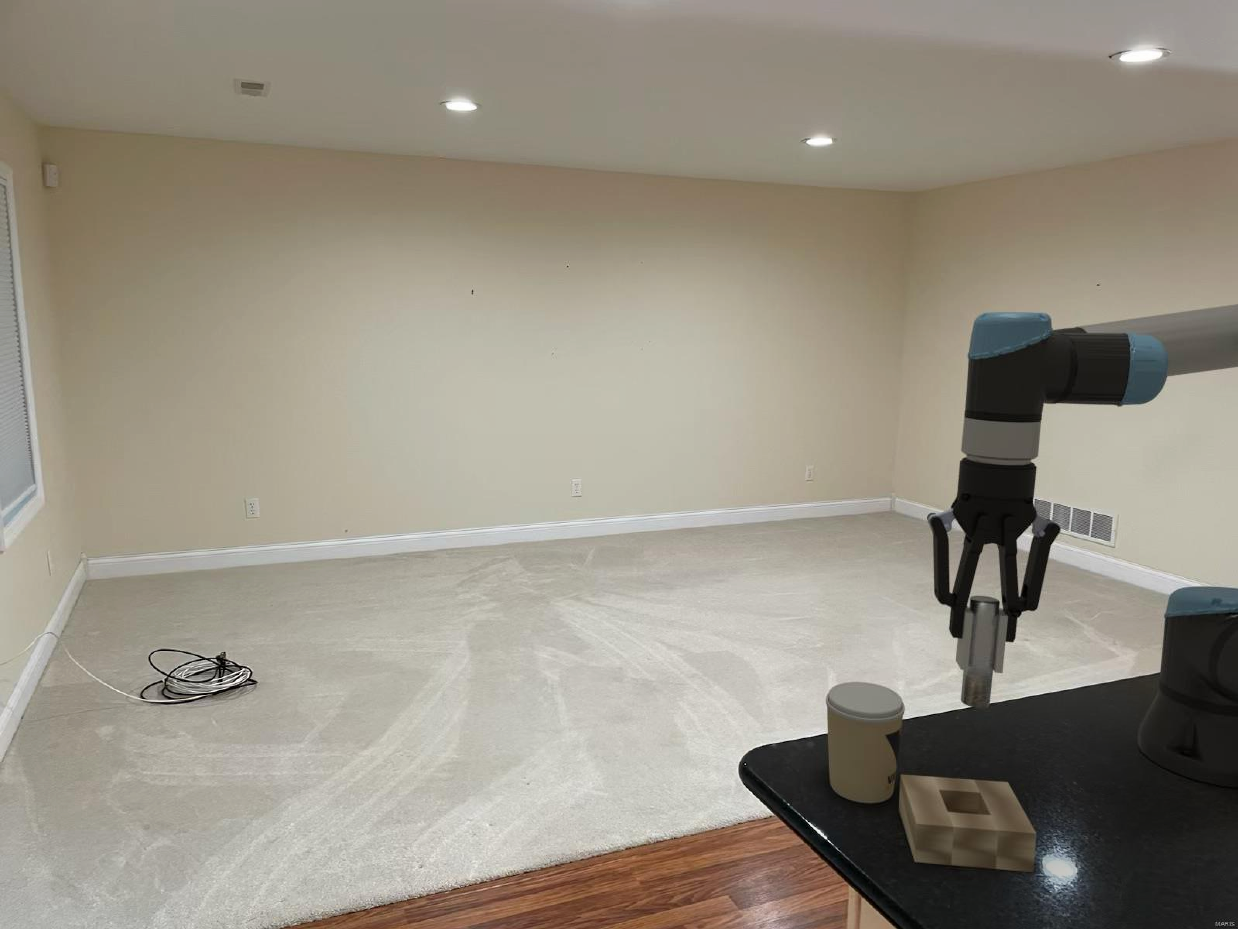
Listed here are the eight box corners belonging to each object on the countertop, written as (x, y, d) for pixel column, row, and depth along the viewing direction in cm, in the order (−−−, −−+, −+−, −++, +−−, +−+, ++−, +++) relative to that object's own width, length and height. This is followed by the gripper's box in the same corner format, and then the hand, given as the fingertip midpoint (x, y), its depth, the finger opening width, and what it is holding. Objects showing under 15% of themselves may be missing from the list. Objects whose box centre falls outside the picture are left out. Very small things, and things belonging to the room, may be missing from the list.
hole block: (1005, 817, 97) (1007, 782, 96) (1033, 872, 87) (1036, 833, 87) (898, 809, 99) (900, 774, 98) (914, 862, 89) (916, 823, 89)
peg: (985, 697, 94) (995, 596, 92) (992, 709, 91) (1003, 605, 90) (958, 695, 95) (967, 594, 93) (964, 706, 92) (973, 603, 90)
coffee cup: (905, 811, 99) (910, 717, 97) (824, 803, 101) (827, 710, 99) (895, 770, 108) (900, 683, 106) (821, 763, 110) (824, 678, 108)
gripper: (1066, 456, 91) (1044, 660, 95) (914, 450, 94) (899, 647, 97) (1092, 467, 83) (1067, 687, 87) (926, 460, 86) (909, 673, 90)
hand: (978, 666), depth 92 cm, fingers closed on peg, 3 cm apart
